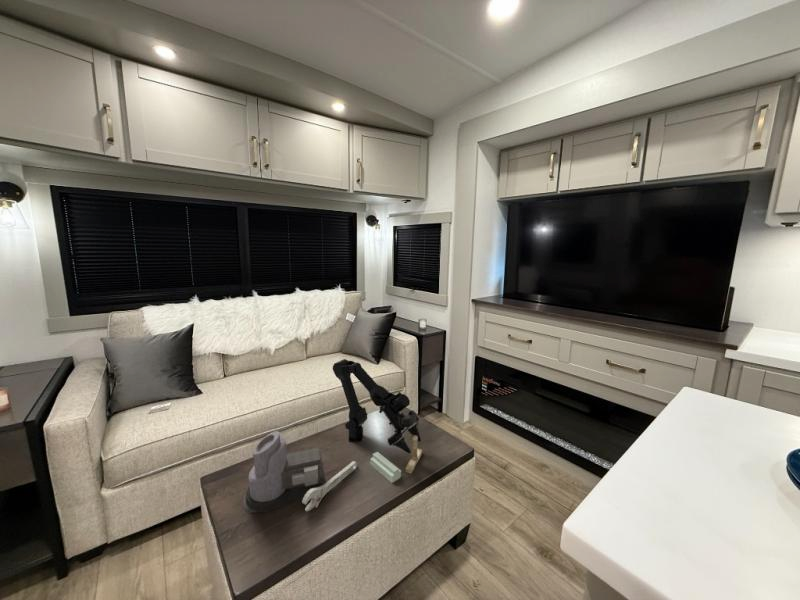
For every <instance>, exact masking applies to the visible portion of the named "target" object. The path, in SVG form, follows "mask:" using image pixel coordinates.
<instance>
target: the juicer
mask: <svg viewBox="0 0 800 600" xmlns="http://www.w3.org/2000/svg"><path fill="white" fill-rule="evenodd" d="M286 442H287V441H286V437H284V436H283V435H282V436H281V433H280V431H279V430H275V431H272V432H270V433H268V434H267V435H265V436H263V438H261V439H260V440H259V442H257V444H255V446H254V448H253V450H252V458H253V464H254V465H253V467H252V468H251V469H250V471H249V473H248V484H249V486H248V487H247V489H246V492H245V493H244V496H243V499H242V505H243V509H244V510H245V511H246V510H247V511H246V512H247V513H249V514H254V513H265V512H266V513H267V512H270V511H274V510H276V509H278V508H281V506H283V505H284V504H286V503H288V502H293V501H296V500H300V499H303V498H304V496H305V494H306V493H307V491H309V490H310V489H311V488H317V487H320V486H322V485H324V484H325V483H326V477H325V471H324V459H323V455H322V454H323V453H322V450H321V449H320V448H319V447H314V448H308V449H304V450H300V451H293V452H290V453H287V444H286ZM248 511H249V512H248ZM253 512H254V513H253Z"/></svg>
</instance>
